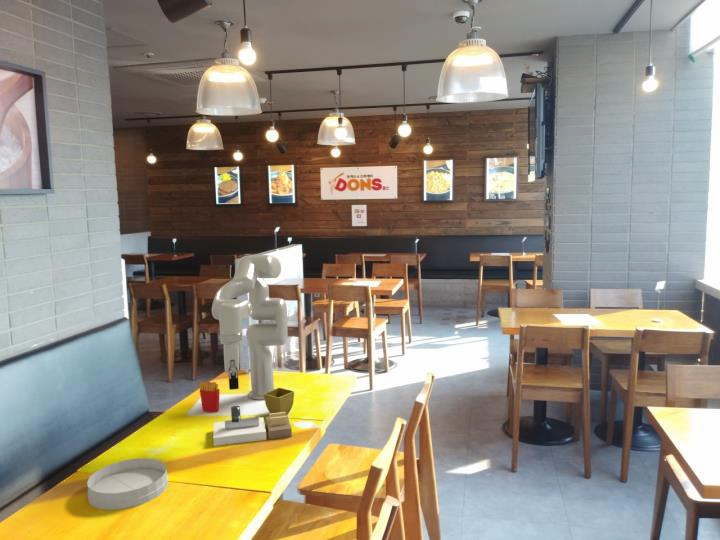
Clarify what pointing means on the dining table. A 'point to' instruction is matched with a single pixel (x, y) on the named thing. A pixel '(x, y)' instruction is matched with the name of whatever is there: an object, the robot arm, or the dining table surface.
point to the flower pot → (279, 400)
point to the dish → (127, 483)
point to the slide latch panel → (254, 430)
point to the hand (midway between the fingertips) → (233, 384)
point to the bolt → (240, 420)
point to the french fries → (209, 396)
